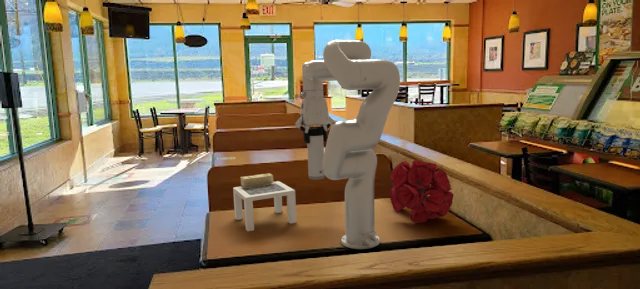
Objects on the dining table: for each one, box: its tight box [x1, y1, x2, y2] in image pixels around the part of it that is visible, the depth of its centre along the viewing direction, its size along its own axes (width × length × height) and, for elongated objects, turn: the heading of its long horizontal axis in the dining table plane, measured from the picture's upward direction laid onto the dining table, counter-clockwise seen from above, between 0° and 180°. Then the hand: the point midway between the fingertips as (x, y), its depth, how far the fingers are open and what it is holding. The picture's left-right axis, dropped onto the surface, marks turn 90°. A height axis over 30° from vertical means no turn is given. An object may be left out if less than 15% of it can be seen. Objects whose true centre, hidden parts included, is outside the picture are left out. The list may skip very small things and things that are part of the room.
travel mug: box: [306, 126, 326, 181], centre depth 170 cm, size 6×7×20 cm
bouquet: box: [388, 159, 454, 224], centre depth 167 cm, size 22×24×30 cm
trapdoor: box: [240, 172, 284, 195], centre depth 171 cm, size 16×13×4 cm
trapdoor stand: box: [232, 180, 298, 232], centre depth 170 cm, size 18×19×12 cm
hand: (315, 141), depth 170 cm, fingers closed on travel mug, 6 cm apart
